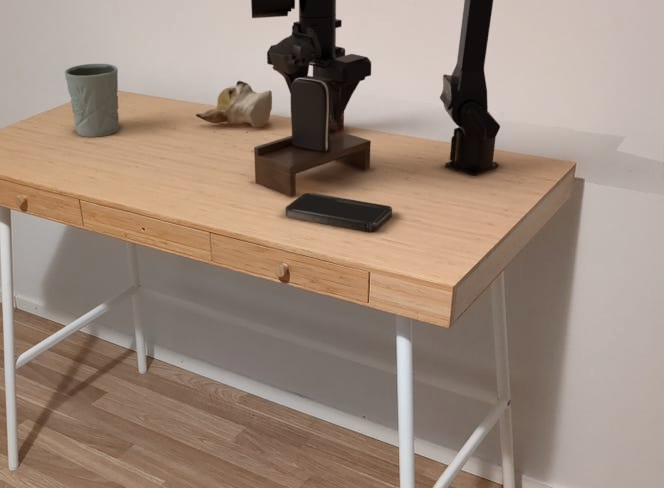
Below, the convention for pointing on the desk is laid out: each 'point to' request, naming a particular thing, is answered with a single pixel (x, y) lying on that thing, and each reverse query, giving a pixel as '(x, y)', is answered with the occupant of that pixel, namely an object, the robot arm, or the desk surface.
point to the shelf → (306, 159)
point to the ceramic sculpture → (240, 106)
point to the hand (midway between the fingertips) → (317, 114)
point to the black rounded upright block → (311, 113)
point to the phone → (339, 212)
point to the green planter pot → (94, 98)
